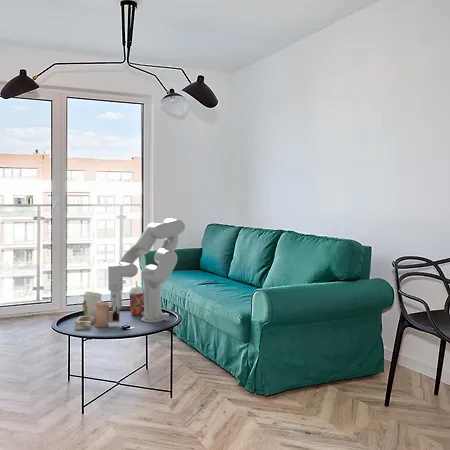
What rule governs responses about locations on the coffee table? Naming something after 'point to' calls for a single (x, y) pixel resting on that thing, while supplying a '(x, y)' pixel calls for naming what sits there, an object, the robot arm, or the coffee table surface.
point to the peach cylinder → (104, 315)
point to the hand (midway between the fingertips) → (116, 320)
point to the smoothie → (136, 300)
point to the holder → (84, 322)
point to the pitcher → (90, 303)
